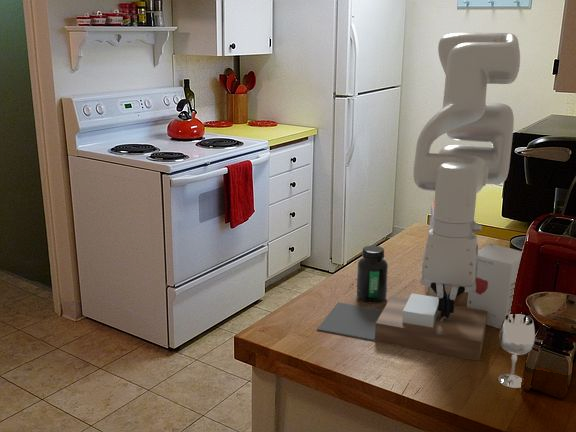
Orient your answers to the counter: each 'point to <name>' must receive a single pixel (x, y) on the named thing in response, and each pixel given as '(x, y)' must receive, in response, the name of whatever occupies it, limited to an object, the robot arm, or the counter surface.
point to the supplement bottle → (372, 275)
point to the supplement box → (495, 282)
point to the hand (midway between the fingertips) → (445, 314)
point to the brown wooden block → (434, 330)
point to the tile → (421, 310)
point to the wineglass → (516, 343)
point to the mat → (351, 321)
